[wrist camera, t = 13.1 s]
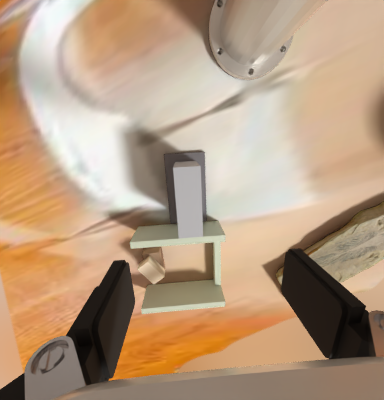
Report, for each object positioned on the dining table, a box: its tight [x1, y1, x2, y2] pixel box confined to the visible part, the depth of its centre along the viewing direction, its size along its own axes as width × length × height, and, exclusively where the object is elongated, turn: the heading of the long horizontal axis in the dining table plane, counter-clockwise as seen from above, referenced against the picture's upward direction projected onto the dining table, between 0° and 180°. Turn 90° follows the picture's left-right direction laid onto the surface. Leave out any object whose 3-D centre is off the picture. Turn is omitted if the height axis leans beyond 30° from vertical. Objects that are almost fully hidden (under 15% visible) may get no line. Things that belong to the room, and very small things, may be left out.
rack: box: [130, 221, 225, 314], centre depth 34 cm, size 15×16×6 cm
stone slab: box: [276, 202, 384, 285], centre depth 38 cm, size 12×4×30 cm
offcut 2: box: [137, 255, 165, 284], centre depth 33 cm, size 4×3×2 cm, turn 38°
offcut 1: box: [142, 246, 165, 269], centre depth 36 cm, size 6×3×3 cm, turn 7°
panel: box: [164, 152, 207, 224], centre depth 33 cm, size 13×7×1 cm, turn 3°
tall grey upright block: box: [173, 161, 203, 238], centre depth 28 cm, size 10×4×9 cm, turn 3°
